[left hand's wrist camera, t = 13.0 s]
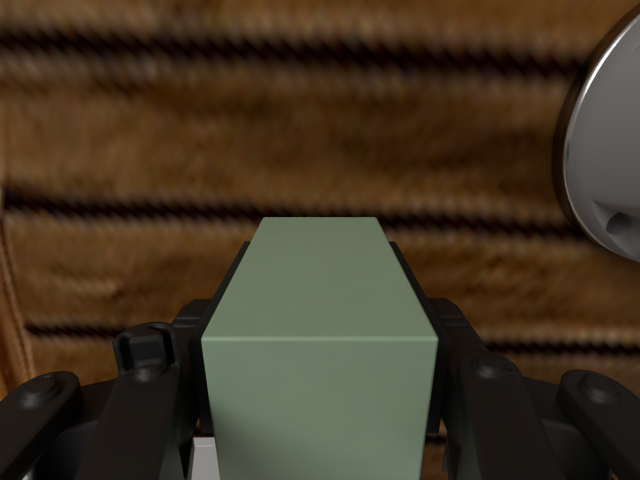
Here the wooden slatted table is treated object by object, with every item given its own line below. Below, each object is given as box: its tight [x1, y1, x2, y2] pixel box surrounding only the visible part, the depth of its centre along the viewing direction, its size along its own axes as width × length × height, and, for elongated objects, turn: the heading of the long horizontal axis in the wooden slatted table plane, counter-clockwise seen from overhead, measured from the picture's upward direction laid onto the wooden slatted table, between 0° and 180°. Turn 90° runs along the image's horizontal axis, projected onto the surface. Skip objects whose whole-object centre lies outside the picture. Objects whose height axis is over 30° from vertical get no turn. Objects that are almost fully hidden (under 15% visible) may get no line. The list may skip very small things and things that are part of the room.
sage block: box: [201, 217, 439, 480], centre depth 11 cm, size 4×4×8 cm
